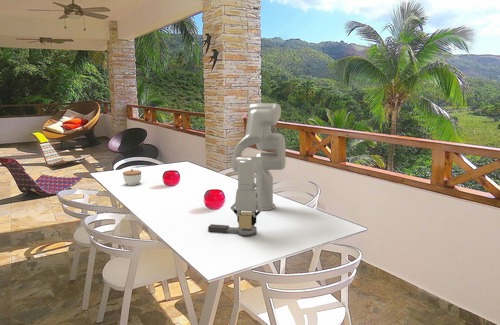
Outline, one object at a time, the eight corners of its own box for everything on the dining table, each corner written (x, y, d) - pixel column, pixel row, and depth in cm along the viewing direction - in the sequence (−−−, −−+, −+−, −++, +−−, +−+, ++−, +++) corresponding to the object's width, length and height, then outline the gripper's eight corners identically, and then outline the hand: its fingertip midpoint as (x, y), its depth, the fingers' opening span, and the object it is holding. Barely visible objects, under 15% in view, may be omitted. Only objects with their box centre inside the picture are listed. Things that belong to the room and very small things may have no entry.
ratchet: (212, 227, 195) (212, 214, 194) (258, 230, 190) (258, 217, 188) (206, 233, 187) (205, 220, 186) (254, 237, 181) (253, 223, 180)
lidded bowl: (120, 185, 286) (118, 169, 284) (134, 181, 296) (133, 167, 294) (131, 187, 279) (130, 171, 277) (145, 183, 289) (144, 168, 287)
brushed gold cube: (242, 223, 189) (242, 211, 188) (254, 224, 188) (254, 212, 187) (238, 227, 184) (238, 215, 183) (251, 228, 182) (251, 216, 181)
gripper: (266, 185, 184) (266, 223, 187) (230, 183, 188) (231, 220, 191) (262, 189, 177) (263, 228, 180) (225, 187, 181) (226, 225, 184)
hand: (246, 223), depth 186 cm, fingers closed on brushed gold cube, 6 cm apart
